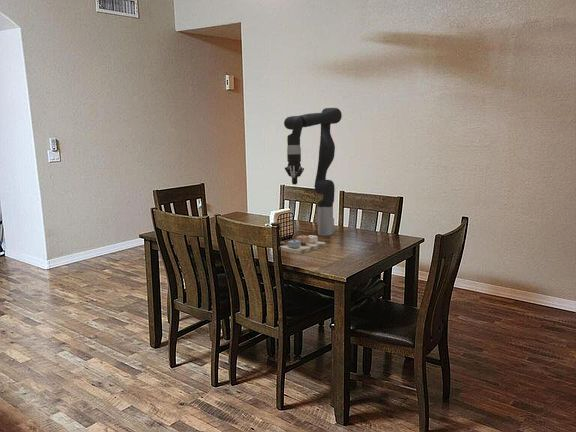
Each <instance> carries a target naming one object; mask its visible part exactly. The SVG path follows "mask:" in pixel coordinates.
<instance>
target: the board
mask: <svg viewBox="0 0 576 432" xmlns="http://www.w3.org/2000/svg"><path fill="white" fill-rule="evenodd" d="M326 244H327V243H326V242H324V241H320V240H318V241H317V242H313V243H309V242H306V243H301V246H300V247H297V248H292V247H288V244H284V245H280V247H281V251H280V252H285V253H291V254H295V255H299V254H300V255H303V254H305V253H309V252H311V251H316V250H318V249H321V248H324V247H327V245H326Z"/></svg>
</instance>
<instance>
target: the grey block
mask: <svg viewBox="0 0 576 432" xmlns="http://www.w3.org/2000/svg"><path fill="white" fill-rule="evenodd" d="M287 245H288V247H292V248H297V247H300V246H301V241H298V240H296V239H292V240H288V241H287Z"/></svg>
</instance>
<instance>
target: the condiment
mask: <svg viewBox="0 0 576 432" xmlns="http://www.w3.org/2000/svg"><path fill="white" fill-rule="evenodd" d="M271 225H272V226H279V230H280V242H281V245H280V246H284V245H286V243H285V242H284V241H282V228H281V223H280V222H275V221H274V222H271V223H270V226H271Z"/></svg>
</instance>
